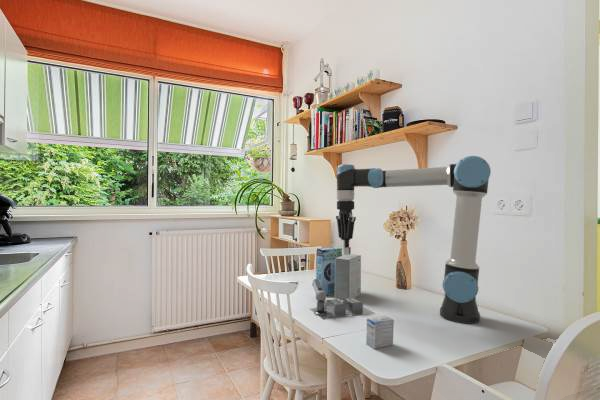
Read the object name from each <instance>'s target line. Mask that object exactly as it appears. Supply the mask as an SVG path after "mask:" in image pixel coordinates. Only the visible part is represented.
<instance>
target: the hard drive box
mask: <svg viewBox="0 0 600 400" xmlns="http://www.w3.org/2000/svg"><path fill="white" fill-rule="evenodd" d="M361 277H362V255H361V254H352V253H350V254H349V255H343V256H340V257H337V258H335V293H334V299H337V300H340V301H343V299H344V298H356V297H359V296H360V295H361V294H362V289H361V287H362V286H361V285H362V278H361Z"/></svg>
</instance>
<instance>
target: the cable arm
mask: <svg viewBox="0 0 600 400" xmlns="http://www.w3.org/2000/svg"><path fill="white" fill-rule="evenodd" d="M311 282H312V284H311V286H312V287H313V290H314V292H315V300H316V301H317V300H321V301H322V300H325V301H326V300H327V295H326V291H324V290H323V288H322V286H321V284H320V282H319V280H318V279H316V278H315V279H312V281H311Z"/></svg>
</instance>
